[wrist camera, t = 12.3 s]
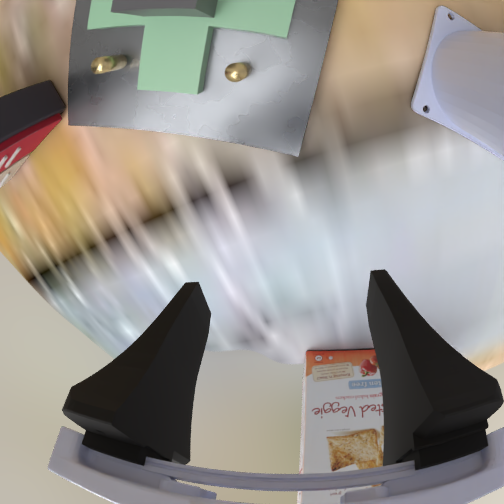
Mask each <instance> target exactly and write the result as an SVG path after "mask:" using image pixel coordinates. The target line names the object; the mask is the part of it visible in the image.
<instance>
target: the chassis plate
mask: <svg viewBox="0 0 504 504" xmlns="http://www.w3.org/2000/svg"><path fill="white" fill-rule="evenodd" d="M91 1H92V0H77V1H76V7H75V13H74V20H73V27H72V36H71V46H70V59H69V77H68V125H73V126H97V127H113V128H126V129H137V130H147V131H156V132H165V133H173V134H180V135H188V136H195V137H201V138H208V139H214V140H220V141H225V142H231V143H236V144H242V145H247V146H252V147H257V148H262V149H266V150H271V151H276V152H280V153H285V154H289V155H293V156H297V157H298V156H299V152H300V148H301V145H302V141H303V137H304V134H305V130H306V126H307V122H308V118H309V115H310V111H311V107H312V103H313V99H314V95H315V92H316V88H317V84H318V80H319V76H320V72H321V68H322V64H323V60H324V56H325V52H326V48H327V44H328V40H329V36H330V32H331V28H332V24H333V20H334V15H335V11H336V7H337V3H338V0H296V1H295V5H294V9H293V13H292V17H291V22H290V26H289V30H288V35H287V39H285V38H280V37H275V36H270V35H264V34H258V33H252V32H245V31H238V30H230V29H221V28H214V29H213V34H212V40H211V45H210V51H209V56H208V62H207V68H206V74H205V80H204V87H203V92H202V93H200V94H198V95H195V94H186V93H176V92H165V91H151V90H137V87H138V76H139V66H140V57H141V49H142V42H143V35H144V29H145V26H130V27H116V28H105V29H88V30H87V26H88V19H89V13H90V6H91Z"/></svg>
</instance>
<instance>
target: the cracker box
mask: <svg viewBox="0 0 504 504" xmlns="http://www.w3.org/2000/svg"><path fill="white" fill-rule="evenodd" d="M383 448H384V414H383V396H382V385H381V377H380V371H379V366H378V361H377V357H376V353H375V349H372V350H347V351H307V352H306V358H305V365H304V372H303V389H302V423H301V447H300V467H299V474H312V473H330V472H342V471H352V470H361V469H368V468H375V467H381V466H383ZM382 484H383V483H382ZM380 485H381V484H376V485H370V486H363V487H355V488H345V489H334V490H319V491H298V498H297V504H340V497H341V496H342V495H344V493H346V492H347V491H353V490H359V489H365V488H370V487H375V486H380Z"/></svg>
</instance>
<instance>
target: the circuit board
mask: <svg viewBox="0 0 504 504" xmlns="http://www.w3.org/2000/svg"><path fill="white" fill-rule="evenodd" d="M295 1H296V0H92V1H91V6H90V13H89V19H88V26H87V30H88V29H105V28H116V27H130V26H145V29H144V35H143V42H142V49H141V57H140V66H139V76H138V87H137V90H151V91H165V92H176V93H186V94H195V95H198V94H200V93H202V92H203V87H204V80H205V74H206V68H207V62H208V56H209V51H210V45H211V40H212V34H213V29H214V28H221V29H230V30H238V31H245V32H252V33H258V34H264V35H270V36H275V37H280V38H285V39H287V35H288V30H289V26H290V22H291V17H292V13H293V9H294V5H295Z"/></svg>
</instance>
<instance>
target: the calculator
mask: <svg viewBox="0 0 504 504" xmlns="http://www.w3.org/2000/svg"><path fill="white" fill-rule="evenodd" d="M64 110H65V105H64V103H63V102H62V100H61V98H60V96H59V95H58V93H57V91H56V89H55V88H54V86H53V84H52V83H51V81H50V80H48V81H45V82H41V83H38V84H35V85H32V86H29V87H26V88H24V89H21V90H18V91H15V92H13V93H10V94H8V95H5V96H3V97H0V188H1V187H2V186H3V185H4V184H6V183H7V182H8V181H9V180H11V178H12V177H13V176H14V175H15V173H16V172H17V171H18V169H19V168H20V167H21V165H22V164H23V163H24V162H25V160H26V159H27V158H28V157H29V155H30V152H32V151H33V150H34V149H35V148H36V147H37V146H38V145H39V144H40V143H41V141H42V140H43V139H44V138H45V137H46V136H47V135H48V134H49V133H50V131H51V130H52V129H53V128H54V127H55V126H56V125H57V124H58V123H59V122H60V121H61V120H62V117H61V115H60V114H61V113H62V112H63V111H64Z"/></svg>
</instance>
